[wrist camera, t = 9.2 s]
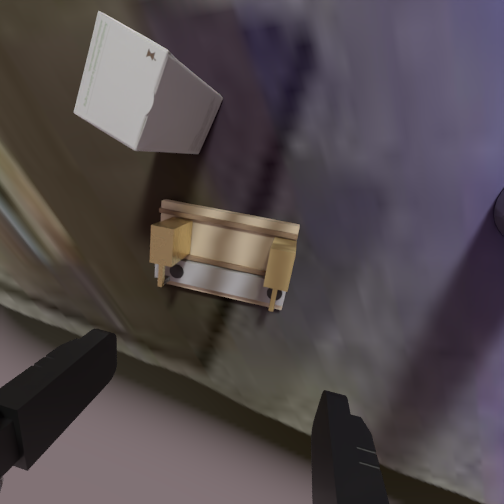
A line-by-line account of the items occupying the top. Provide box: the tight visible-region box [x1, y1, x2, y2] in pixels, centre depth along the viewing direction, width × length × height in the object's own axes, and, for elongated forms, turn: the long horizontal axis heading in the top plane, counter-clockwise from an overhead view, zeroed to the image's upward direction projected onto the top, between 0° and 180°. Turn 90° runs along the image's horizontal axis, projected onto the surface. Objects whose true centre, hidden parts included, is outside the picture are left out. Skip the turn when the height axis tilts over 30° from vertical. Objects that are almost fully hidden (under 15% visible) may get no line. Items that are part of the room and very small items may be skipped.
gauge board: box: [155, 199, 300, 312], centre depth 37 cm, size 20×13×8 cm, turn 81°
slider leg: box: [150, 217, 193, 287], centre depth 37 cm, size 3×8×6 cm, turn 171°
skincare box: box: [74, 11, 223, 154], centre depth 28 cm, size 8×7×16 cm
